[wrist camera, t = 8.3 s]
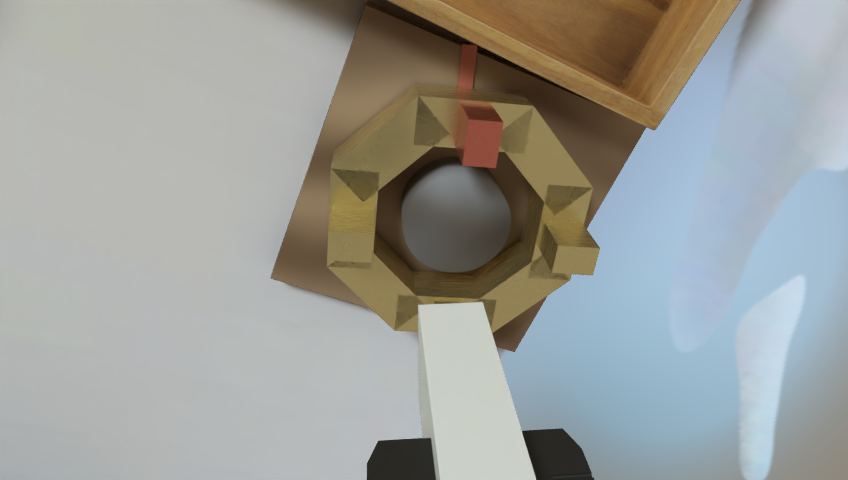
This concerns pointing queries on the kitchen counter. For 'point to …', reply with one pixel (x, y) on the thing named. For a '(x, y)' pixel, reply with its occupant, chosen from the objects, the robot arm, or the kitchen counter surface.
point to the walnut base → (442, 162)
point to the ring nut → (476, 146)
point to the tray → (593, 43)
